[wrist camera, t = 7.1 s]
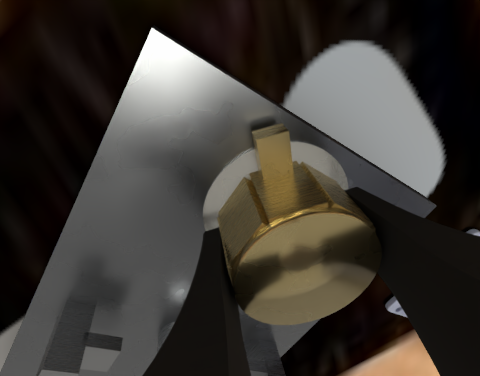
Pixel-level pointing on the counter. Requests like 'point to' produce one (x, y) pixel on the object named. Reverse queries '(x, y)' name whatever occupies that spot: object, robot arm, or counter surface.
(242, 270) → the cap
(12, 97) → the counter surface
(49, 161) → the counter surface
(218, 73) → the base
